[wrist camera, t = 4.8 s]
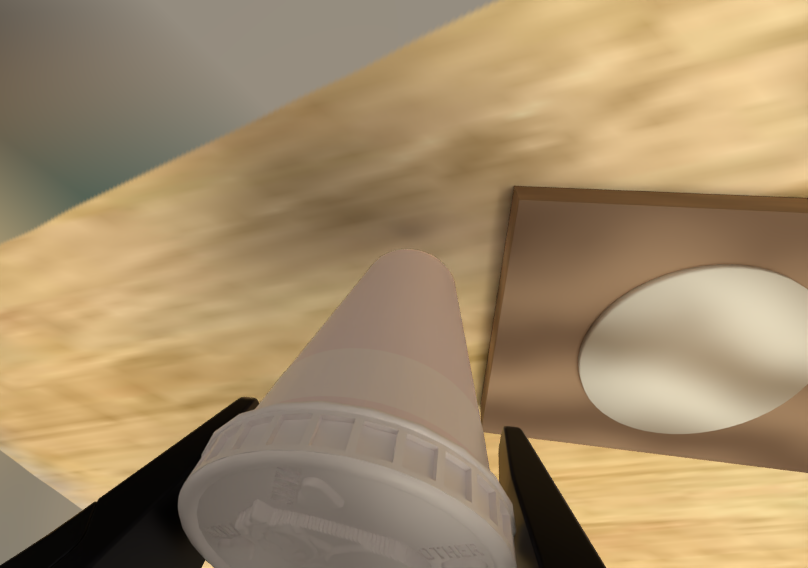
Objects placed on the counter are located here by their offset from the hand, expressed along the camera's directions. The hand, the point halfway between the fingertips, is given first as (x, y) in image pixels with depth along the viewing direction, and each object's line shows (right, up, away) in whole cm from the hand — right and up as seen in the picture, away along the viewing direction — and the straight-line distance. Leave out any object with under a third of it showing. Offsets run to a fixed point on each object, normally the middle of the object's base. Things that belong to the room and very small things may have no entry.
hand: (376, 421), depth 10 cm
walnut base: (+16, +1, +12) cm, 20 cm away
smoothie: (+1, +3, +6) cm, 7 cm away
